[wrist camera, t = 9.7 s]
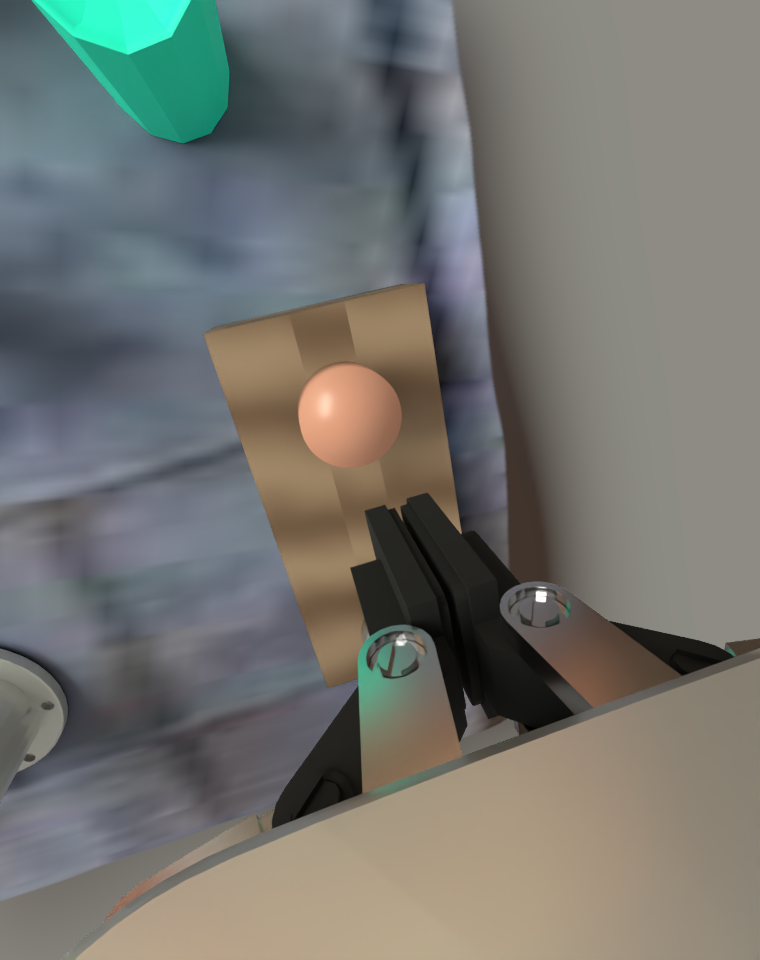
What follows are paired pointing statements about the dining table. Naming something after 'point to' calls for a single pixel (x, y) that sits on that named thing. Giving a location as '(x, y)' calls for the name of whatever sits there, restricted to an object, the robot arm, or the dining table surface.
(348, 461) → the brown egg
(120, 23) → the candle
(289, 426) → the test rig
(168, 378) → the dining table surface
